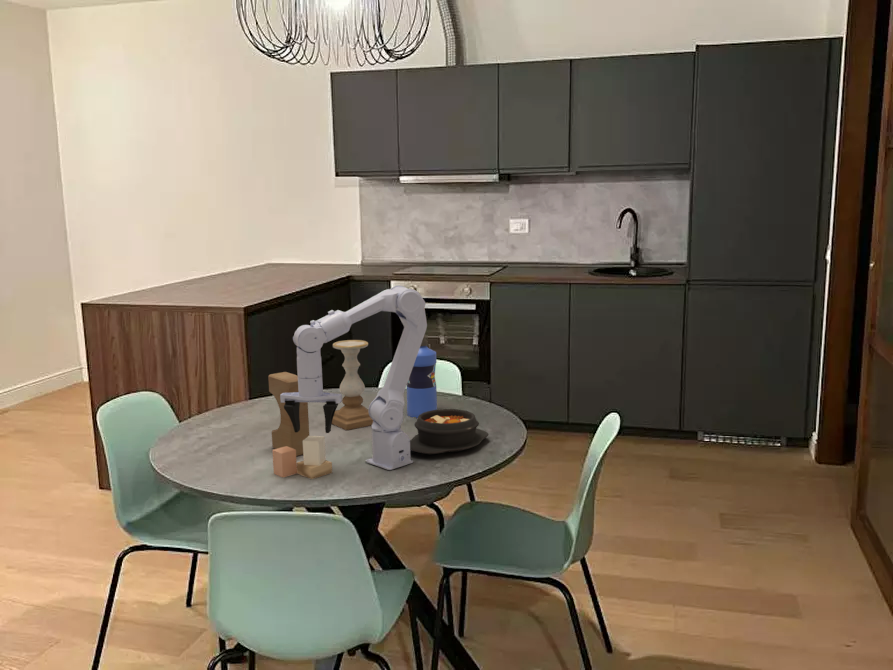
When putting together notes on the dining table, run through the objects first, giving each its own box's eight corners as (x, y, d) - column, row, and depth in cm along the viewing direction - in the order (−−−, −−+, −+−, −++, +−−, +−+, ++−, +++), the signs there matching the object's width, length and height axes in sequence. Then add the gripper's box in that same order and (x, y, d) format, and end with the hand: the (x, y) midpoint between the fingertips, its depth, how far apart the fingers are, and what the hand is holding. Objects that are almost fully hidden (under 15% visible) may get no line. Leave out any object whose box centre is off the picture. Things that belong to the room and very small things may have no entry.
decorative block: (271, 447, 215) (267, 374, 212) (290, 443, 219) (287, 371, 215) (291, 457, 207) (287, 381, 203) (311, 453, 210) (307, 378, 207)
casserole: (438, 466, 199) (438, 433, 197) (388, 450, 211) (387, 419, 210) (504, 442, 216) (504, 412, 215) (454, 429, 229) (453, 400, 227)
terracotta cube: (297, 473, 195) (295, 449, 194) (282, 477, 193) (281, 453, 192) (287, 469, 198) (286, 446, 197) (273, 473, 195) (272, 449, 194)
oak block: (332, 474, 195) (331, 462, 195) (311, 480, 191) (311, 468, 191) (317, 468, 200) (317, 456, 199) (297, 474, 195) (296, 462, 195)
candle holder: (346, 430, 230) (342, 348, 225) (328, 422, 238) (324, 342, 234) (379, 423, 236) (376, 343, 232) (360, 415, 245) (357, 338, 240)
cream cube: (325, 460, 196) (324, 436, 195) (319, 465, 192) (318, 441, 191) (310, 459, 197) (308, 435, 196) (303, 464, 193) (302, 440, 192)
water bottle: (439, 410, 249) (438, 330, 245) (435, 418, 240) (433, 335, 236) (409, 409, 250) (407, 330, 246) (404, 417, 241) (401, 335, 237)
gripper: (344, 372, 194) (346, 427, 196) (285, 372, 196) (289, 426, 198) (336, 379, 187) (338, 436, 190) (276, 378, 189) (279, 434, 192)
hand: (312, 431), depth 194 cm, fingers open, 7 cm apart
